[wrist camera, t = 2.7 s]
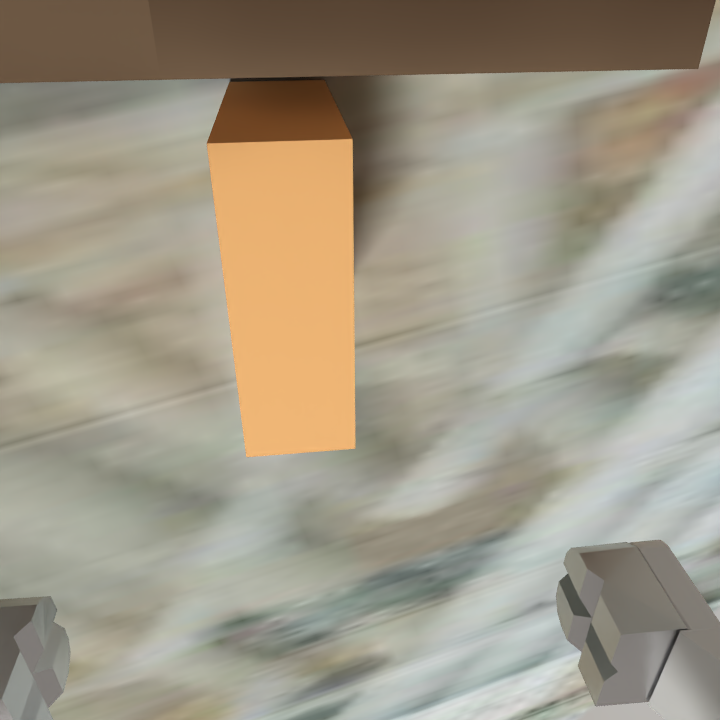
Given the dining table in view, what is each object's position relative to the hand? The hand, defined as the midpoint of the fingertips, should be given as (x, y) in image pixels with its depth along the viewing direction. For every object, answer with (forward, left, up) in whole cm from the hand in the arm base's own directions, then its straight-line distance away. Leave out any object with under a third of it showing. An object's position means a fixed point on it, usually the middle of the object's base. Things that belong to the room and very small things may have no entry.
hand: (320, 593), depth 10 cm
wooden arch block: (0, 0, -20) cm, 20 cm away
